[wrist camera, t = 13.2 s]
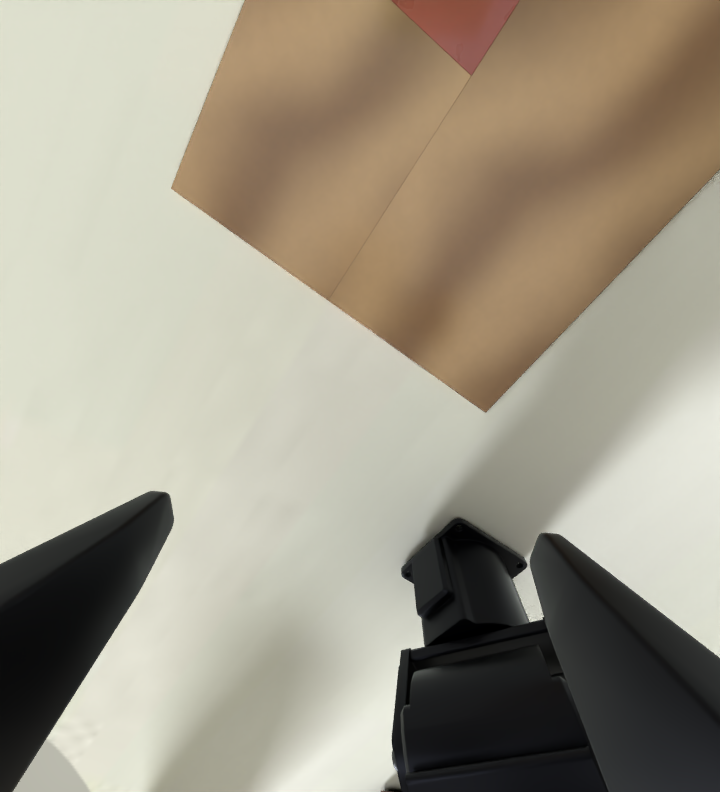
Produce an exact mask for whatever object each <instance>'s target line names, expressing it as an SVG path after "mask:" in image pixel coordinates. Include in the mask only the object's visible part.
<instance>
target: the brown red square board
mask: <svg viewBox="0 0 720 792" xmlns="http://www.w3.org/2000/svg"><path fill="white" fill-rule="evenodd" d="M719 169H720V0H245V1H244V4H243V6H242V9H241V12H240V14H239V17H238V19H237V22H236V24H235V27H234V29H233V32H232V34H231V37H230V40H229V42H228V45H227V47H226V50H225V52H224V55H223V57H222V60H221V62H220V65H219V68H218V70H217V73H216V75H215V78H214V80H213V83H212V85H211V88H210V90H209V93H208V96H207V98H206V101H205V103H204V106H203V108H202V111H201V113H200V116H199V118H198V121H197V123H196V126H195V129H194V131H193V134H192V136H191V139H190V141H189V144H188V146H187V149H186V151H185V154H184V157H183V159H182V162H181V164H180V167H179V169H178V172H177V174H176V177H175V179H174V182H173V185H172V187H171V189H173V190H174V191H175V192H177V193H178V194H180V195H181V196H182V197H184V198H185V199H187V200H188V201H189V202H191V203H192V204H194V205H195V206H196V207H198V208H199V209H201V210H202V211H203V212H205V213H206V214H208V215H209V216H211V217H212V218H213V219H215V220H216V221H218V222H219V223H220V224H222V225H223V226H225V227H226V228H227V229H229V230H230V231H232V232H233V233H234V234H236V235H237V236H239V237H240V238H241V239H243V240H244V241H246V242H247V243H248V244H250V245H251V246H253V247H254V248H255V249H257V250H258V251H260V252H261V253H262V254H264V255H265V256H267V257H268V258H269V259H271V260H272V261H274V262H275V263H276V264H278V265H279V266H281V267H282V268H283V269H285V270H286V271H288V272H289V273H290V274H292V275H293V276H295V277H296V278H297V279H299V280H300V281H302V282H303V283H304V284H306V285H307V286H309V287H310V288H311V289H313V290H314V291H316V292H317V293H319V294H320V295H321V296H323V297H324V298H326V299H327V300H328V301H330V302H331V303H333V304H334V305H335V306H337V307H338V308H340V309H341V310H342V311H344V312H345V313H347V314H348V315H349V316H351V317H352V318H354V319H355V320H356V321H358V322H359V323H361V324H362V325H363V326H365V327H366V328H368V329H369V330H370V331H372V332H373V333H375V334H376V335H377V336H379V337H380V338H382V339H383V340H384V341H386V342H387V343H389V344H390V345H391V346H393V347H394V348H396V349H397V350H398V351H400V352H401V353H403V354H404V355H405V356H407V357H408V358H410V359H411V360H412V361H414V362H415V363H417V364H418V365H419V366H421V367H422V368H424V369H425V370H427V371H428V372H429V373H431V374H432V375H434V376H435V377H436V378H438V379H439V380H441V381H442V382H443V383H445V384H446V385H448V386H449V387H450V388H452V389H453V390H455V391H456V392H457V393H459V394H460V395H462V396H463V397H464V398H466V399H467V400H469V401H470V402H471V403H473V404H474V405H476V406H477V407H478V408H480V409H481V410H483V411H484V412H487V411H488V410H489V409H490V408H491V407H492V406H493V404H494V403H495V402H496V401H497V400H498V399H499V398H500V397H501V396H502V395H503V394H504V393H505V392H506V391H507V390H508V389H509V388H510V387H511V386H512V385H513V384H514V383H515V382H516V381H517V380H518V378H519V377H520V376H521V375H522V374H523V373H524V372H525V371H526V370H527V369H528V368H529V367H530V366H531V365H532V364H533V363H534V362H535V361H536V360H537V359H538V358H539V357H540V356H541V355H542V354H543V352H544V351H545V350H546V349H547V348H548V347H549V346H550V345H551V344H552V343H553V342H554V341H555V340H556V339H557V338H558V337H559V336H560V335H561V334H562V333H563V332H564V331H565V330H566V329H567V328H568V326H569V325H570V324H571V323H572V322H573V321H574V320H575V319H576V318H577V317H578V316H579V315H580V314H581V313H582V312H583V311H584V310H585V309H586V308H587V307H588V306H589V305H590V304H591V303H592V301H593V300H594V299H595V298H596V297H597V296H598V295H599V294H600V293H601V292H602V291H603V290H604V289H605V288H606V287H607V286H608V285H609V284H610V283H611V282H612V281H613V280H614V279H615V278H616V277H617V275H618V274H619V273H620V272H621V271H622V270H623V269H624V268H625V267H626V266H627V265H628V264H629V263H630V262H631V261H632V260H633V259H634V258H635V257H636V256H637V255H638V254H639V253H640V252H641V251H642V249H643V248H644V247H645V246H646V245H647V244H648V243H649V242H650V241H651V240H652V239H653V238H654V237H655V236H656V235H657V234H658V233H659V232H660V231H661V230H662V229H663V228H664V227H665V226H666V225H667V223H668V222H669V221H670V220H671V219H672V218H673V217H674V216H675V215H676V214H677V213H678V212H679V211H680V210H681V209H682V208H683V207H684V206H685V205H686V204H687V203H688V202H689V201H690V200H691V199H692V197H693V196H694V195H695V194H696V193H697V192H698V191H699V190H700V189H701V188H702V187H703V186H704V185H705V184H706V183H707V182H708V181H709V180H710V179H711V178H712V177H713V176H714V175H715V174H716V173H717V171H718V170H719Z"/></svg>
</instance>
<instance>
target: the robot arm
mask: <svg viewBox="0 0 720 792" xmlns="http://www.w3.org/2000/svg"><path fill="white" fill-rule="evenodd" d="M173 523H174V516H173V510H172V504H171V498H170V495H169V494H168V493H166V492H158V491H150V492H147V493H145V494H143V495H141V496H139V497H137V498H135V499H133V500H131V501H129V502H127V503H125V504H123V505H120V506H118V507H116V508H114V509H112V510H110V511H108V512H106V513H104V514H102V515H100V516H98V517H96V518H94V519H92V520H90V521H88V522H86V523H84V524H82V525H79V526H77V527H75V528H73V529H71V530H69V531H67V532H65V533H63V534H61V535H59V536H57V537H55V538H53V539H51V540H49V541H47V542H45V543H43V544H40V545H38V546H36V547H34V548H32V549H30V550H28V551H26V552H24V553H22V554H20V555H18V556H16V557H14V558H12V559H10V560H8V561H6V562H4V563H1V564H0V792H13V790H14V789H15V787H16V786H17V784H18V782H19V781H20V779H21V778H22V776H23V775H24V773H25V771H26V770H27V768H28V767H29V765H30V763H31V762H32V760H33V759H34V757H35V756H36V754H37V752H38V751H39V749H40V748H41V746H42V745H43V743H44V741H45V740H46V738H47V737H48V735H49V734H50V732H51V730H52V729H53V727H54V726H55V724H56V722H57V721H58V719H59V718H60V716H61V715H62V713H63V711H64V710H65V708H66V707H67V705H68V704H69V702H70V700H71V699H72V697H73V696H74V694H75V692H76V691H77V689H78V688H79V686H80V685H81V683H82V681H83V680H84V678H85V677H86V675H87V674H88V672H89V670H90V669H91V667H92V666H93V664H94V663H95V661H96V659H97V658H98V656H99V655H100V653H101V651H102V650H103V648H104V647H105V645H106V644H107V642H108V640H109V639H110V637H111V636H112V634H113V633H114V631H115V629H116V628H117V626H118V625H119V623H120V621H121V620H122V618H123V617H124V615H125V614H126V612H127V610H128V609H129V607H130V606H131V604H132V603H133V601H134V599H135V598H136V596H137V594H138V593H139V591H140V589H141V587H142V586H143V584H144V582H145V580H146V578H147V576H148V574H149V572H150V570H151V568H152V566H153V564H154V562H155V561H156V559H157V557H158V555H159V553H160V551H161V549H162V547H163V545H164V543H165V541H166V539H167V537H168V535H169V533H170V531H171V529H172V526H173ZM458 525H461V526H460V527H456V526H458ZM518 563H519V564H518ZM526 567H527V563H526V561H525V559H524V558H523V557H522V556H521V555H519V554H517V553H516V552H514V551H513V550H511V549H510V548H508V547H506V546H505V545H503V544H502V543H500V542H498V541H497V540H495V539H494V538H492V537H490V536H489V535H487V534H486V533H484V532H482V531H481V530H479V529H478V528H476V527H474V526H473V525H471V524H470V523H468V522H467V521H465V520H463V519H461V518H456V519H454V520H452V521H451V522H450V523H449V524H448V525H447V526H446V527H445V528H444V529H443V530H442V531H441V532H439V533H438V534H437V535H436V536H435V537H434V538H433V539H432V540H431V541H429V542H428V543H427V544H426V545H425V546H424V547H423V548H422V549H421V550H420V551H419V552H418V553H417V554H415V555H414V556H413V557H412V558H411V559H410V560H409V561H408V562H407V563H406V564H405V565H404V566H403V567H402V568H401V574H402V577H403V578H405V579H406V580H408V581H410V582H412V583H413V584H414V589H415V598H416V608H417V614H418V615H419V616H420V617H421V618H422V627H423V636H424V645H425V647H422V648H417V649H413V650H411V648H409V649H405V650H401V658H400V666H399V670H398V680H397V690H396V701H395V711H394V721H393V731H392V747H393V751H392V760H393V765H394V768H395V769H396V770H397V772H398V777H399V782H400V786H401V790H402V792H720V658H719V657H718V656H717V655H715V654H714V653H713V652H711V651H710V650H709V649H707V648H706V647H705V646H704V645H702V644H701V643H700V642H698V641H697V640H696V639H695V638H693V637H692V636H691V635H689V634H688V633H687V632H685V631H684V630H683V629H682V628H680V627H679V626H678V625H676V624H675V623H674V622H673V621H671V620H670V619H669V618H667V617H666V616H665V615H663V614H662V613H661V612H660V611H658V610H657V609H656V608H654V607H653V606H652V605H651V604H649V603H648V602H647V601H645V600H644V599H643V598H641V597H640V596H639V595H638V594H636V593H635V592H634V591H632V590H631V589H630V588H628V587H627V586H626V585H625V584H623V583H622V582H621V581H619V580H618V579H617V578H616V577H614V576H613V575H612V574H610V573H609V572H608V571H606V570H605V569H604V568H603V567H601V566H600V565H599V564H597V563H596V562H595V561H594V560H592V559H591V558H590V557H588V556H587V555H586V554H584V553H583V552H582V551H581V550H579V549H578V548H577V547H575V546H574V545H573V544H572V543H570V542H569V541H568V540H566V539H565V538H564V537H562V536H561V535H559V534H553V533H541V534H540V535H539V536H538V538H537V541H536V544H535V546H534V549H533V551H532V554H531V557H530V567H531V571H532V575H533V579H534V582H535V586H536V589H537V593H538V597H539V600H540V604H541V607H542V611H543V615H544V617H543V620H538V621H534V622H529V619H528V617H527V614H526V612H525V609H524V607H523V605H522V602H521V600H520V597H519V595H518V592H517V590H516V587H515V585H514V582H513V580H512V579H513V578H514V577H515V576H517V575H518V574H519V573H521V572H522V571H523V570H524V569H526Z"/></svg>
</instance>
